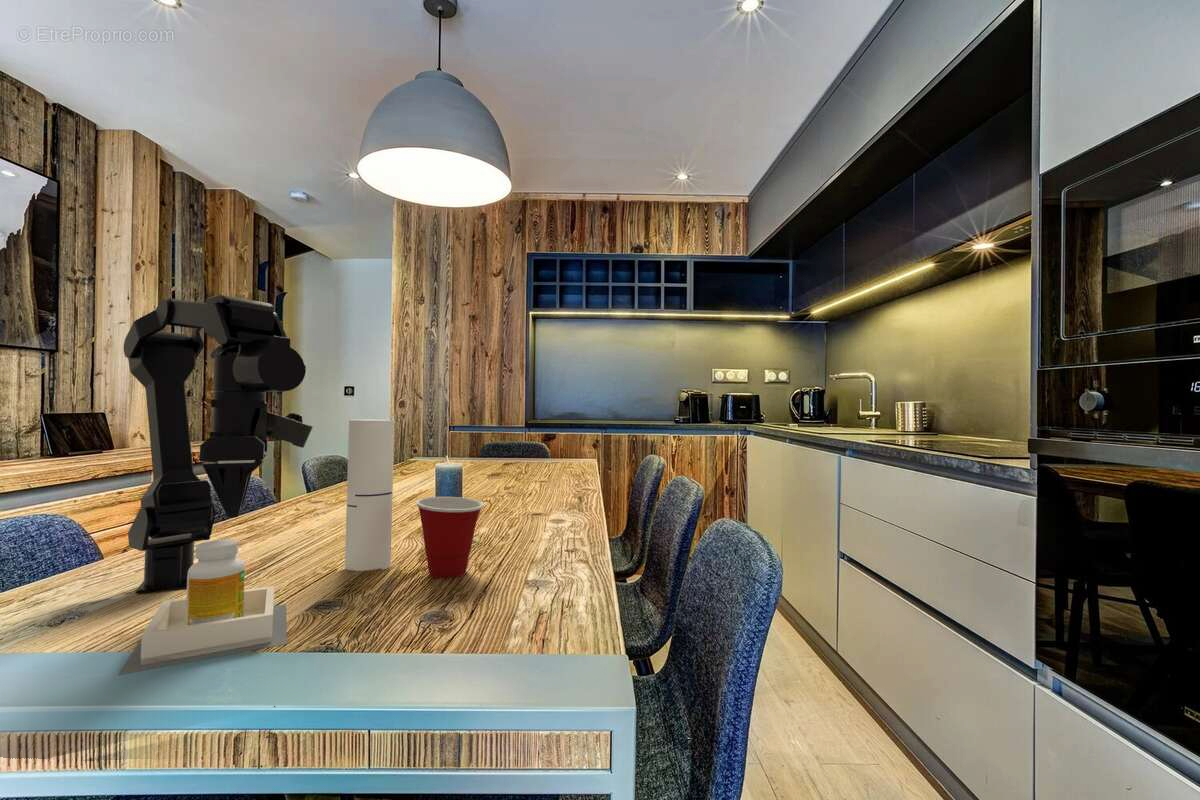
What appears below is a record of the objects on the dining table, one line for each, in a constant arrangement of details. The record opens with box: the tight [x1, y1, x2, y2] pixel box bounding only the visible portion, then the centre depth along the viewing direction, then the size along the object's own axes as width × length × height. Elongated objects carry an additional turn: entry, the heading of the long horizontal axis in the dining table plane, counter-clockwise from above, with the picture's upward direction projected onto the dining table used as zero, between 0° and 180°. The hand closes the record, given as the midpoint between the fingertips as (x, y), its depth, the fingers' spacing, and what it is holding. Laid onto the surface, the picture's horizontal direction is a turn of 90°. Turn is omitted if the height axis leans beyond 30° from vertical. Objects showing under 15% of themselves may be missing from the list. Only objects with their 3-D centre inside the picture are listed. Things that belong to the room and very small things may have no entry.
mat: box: [117, 604, 288, 676], centre depth 60 cm, size 14×14×1 cm
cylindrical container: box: [344, 419, 395, 572], centre depth 89 cm, size 7×7×25 cm
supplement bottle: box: [185, 539, 246, 625], centre depth 61 cm, size 5×5×10 cm
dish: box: [141, 585, 275, 665], centre depth 60 cm, size 11×11×3 cm
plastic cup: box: [416, 496, 485, 579], centre depth 86 cm, size 11×11×12 cm
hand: (236, 511), depth 69 cm, fingers open, 9 cm apart
